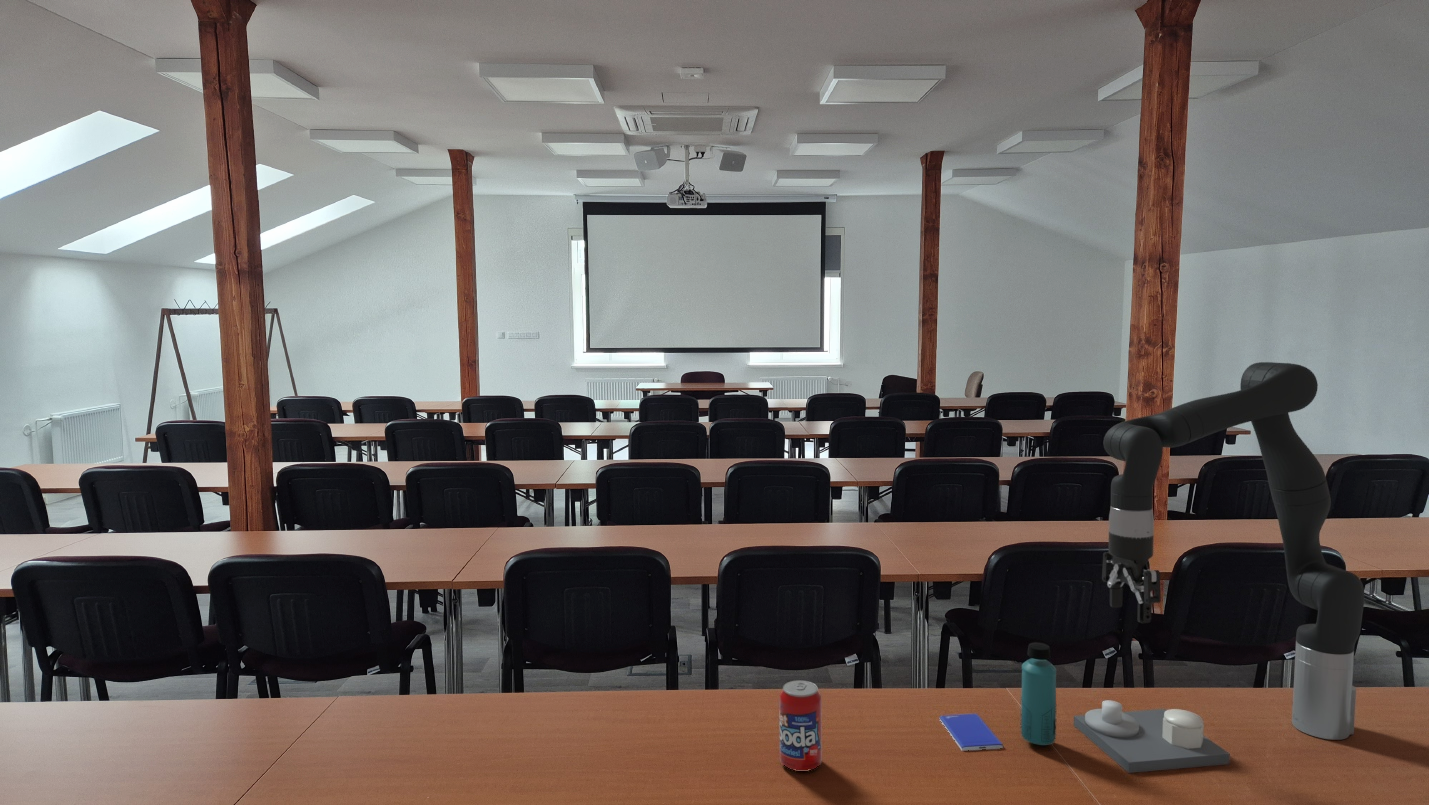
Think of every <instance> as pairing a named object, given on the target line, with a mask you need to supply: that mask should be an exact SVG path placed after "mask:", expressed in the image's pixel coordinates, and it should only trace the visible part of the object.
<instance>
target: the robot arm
mask: <svg viewBox="0 0 1429 805" xmlns="http://www.w3.org/2000/svg"><path fill="white" fill-rule="evenodd" d="M1240 378H1241V379H1240V388H1239V390H1237V391H1232V392H1228V393H1223V394H1219V395H1214V396H1213V395H1212V396H1207V397H1203V398H1198V399H1194V400H1191V401H1188V402H1184V403H1182V404H1178V405H1177V406H1174V407H1171V408H1169V409H1166V410H1165V411H1161V412H1159V413H1156V414H1150V415H1145V416H1141V417H1136V418H1132V419H1127V420H1125V421H1121V422H1119V423H1117V424H1114V425H1113V426H1112V427H1111V428H1109V429H1108V430H1107V432H1105V435H1104V437H1103V442H1102V443H1103V448H1104V451H1105V452H1106V453H1107V455H1108V456H1110V457H1112V458H1113V459H1115V460H1118V461H1123V462H1125V464H1124V465H1125V466H1124V469H1123V473H1122V474H1118V475H1116V476H1115V475H1114V477H1113V478H1112V480H1111V483H1110V507H1109V508H1110V510H1109V514H1108V551H1107V552H1106V551H1104V552H1103V553H1102V567H1101V568H1102V569H1101V580H1102V582H1104V583H1105V582H1106V583H1107V584H1106V585H1107V588H1109V606H1110V607H1111V608H1114V609H1116V608H1117V609H1118V608H1122V607H1123V599H1124V598H1123V594H1124V592H1123V591H1124V590H1123V588H1122V587H1123V586H1124V584H1126V585H1127V586H1129V588H1130V590H1131V592H1132V593H1133V594H1135V597H1136V600H1137V617H1136V618H1137V622H1138V623H1140V624H1149V623H1151V621H1152V606H1153V604H1159V603H1161V601H1162V600H1161V599H1162V598H1161V596H1162V594H1161V572H1160V570H1158V569H1155V570H1153V569H1152V570H1151V569H1149V565H1148V561H1149V560H1150V559H1151V558H1153V556H1154V540H1155V539H1154V530H1155V529H1154V528H1155V524H1154V523H1155V520H1154V510H1153V507H1154V506H1153V504H1154V502H1153V500H1154V490H1153V489H1154V484H1155V482H1156V479H1157V476H1158V472H1159V468H1160V466H1161V462H1162V458H1163V455H1164V454H1163V452H1164V451H1163V449H1164V448H1177V447H1178V448H1179V447H1181V446H1185V445H1187V444H1189V443H1192V442H1194V441H1197V440H1200V439H1202V438H1205V437H1207V436H1210V435H1212V434H1215V433H1218V432H1220V431H1221V432H1222V431H1224V430H1226V429H1230V428H1233V427H1235V426H1238V425H1239V426H1240V425H1243V424H1245V423H1249V422H1251V425H1252V427H1253V431H1254V433H1255V437H1256V439H1257V442H1258V446H1259V450H1260V453H1261V457H1262V462H1263V464H1264V468H1265V472H1266V476H1267V483H1268V486H1269V490H1270V491H1269V492H1270V494H1271V498H1272V502H1273V506H1274V508H1275V512H1276V517H1277V521H1278V526H1279V531H1280V535H1281V539H1282V544H1283V551H1284V560H1285V569H1286V577H1287V583H1288V584H1287V585H1288V588H1289V591H1290V593H1291V595H1292V596H1293V598H1294V599H1295V601H1298V603H1300V604H1301V605H1303V606H1306V607H1309V608H1311V609H1313V610H1316V611H1317V617H1316V623H1306V624H1302V625H1299V626H1298V627H1297V629H1296V635H1295V636H1296V637H1295V655H1294V670H1293V672H1294V675H1293V677H1294V678H1293V693H1292V694H1293V696H1292V712H1291V714H1292V715H1291V724H1292V726H1293V727H1294V728H1295V729H1297V730H1299V731H1300V732H1303V733H1304V734H1307V735H1309V736H1313V737H1316V738H1319V739H1325V740H1332V741H1335V740H1337V741H1340V740H1345V739H1347V738H1349V737H1350V735H1355V717H1356V716H1355V715H1356V702H1357V701H1356V700H1357V687H1356V686H1354V685H1353V677H1354V657H1355V655H1354V654H1355V644H1356V642H1357V640H1358V638H1359V636H1360V634H1361V630H1362V629H1361V628H1362V621H1363V613H1364V607H1365V606H1364V605H1365V588H1364V585H1363V582H1362V580H1361V579H1360V578H1359V576H1358V575H1356V574H1355V573H1353V572H1351V571H1348V570H1345V569H1343V568H1340V567H1336V566H1334V565H1331V564H1328V563H1327V562H1326V559H1325V558H1324V555H1323V551H1322V546H1321V542H1320V533H1321V531H1322V528H1323V526H1324V523H1325V521H1326V520H1327V517H1328V515H1329V512H1330V510H1331V505H1332V504H1331V503H1332V501H1331V494H1330V489H1329V485H1328V480H1327V477H1326V474H1325V473H1326V472H1325V471H1324V468H1323V466H1322V465H1321V463H1320V461H1319V460H1318V458H1317V457H1316V456H1315V454H1314V453H1313V452H1312V451H1311V450H1310V448H1309V447H1308V446H1307V444H1306V443H1305V442H1304V441H1303V440H1302V438H1301V437H1300V436H1299V434H1298V433H1297V431H1296V430H1295V428H1294V426H1293V423H1292V421H1291V418H1290V415H1289V413H1292V412H1293V413H1294V412H1298V411H1300V410H1303V409H1305V408H1307V407H1308V406H1309V405H1311V403H1312V402H1313V401H1314V400H1315V398H1316V396H1317V393H1318V387H1319V384H1318V380H1317V377H1316V375H1315V374H1314V372H1313V371H1312V370H1311V369H1310V368H1308V367H1306V366H1304V365H1301V364H1296V363H1289V362H1272V361H1264V362H1260V361H1259V362H1255V363H1252V364H1250V365H1249V366H1247V367H1246V369H1245V370H1244V372H1242V376H1241V377H1240ZM1109 571H1110V574H1109ZM1142 584H1143V585H1142ZM1142 592H1143V593H1142ZM1152 592H1153V593H1152Z"/></svg>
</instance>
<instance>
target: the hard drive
mask: <svg viewBox="0 0 1429 805" xmlns="http://www.w3.org/2000/svg"><path fill="white" fill-rule="evenodd" d="M939 719H940V720H939ZM939 719H938V720H939V722H940V721H941V722H942V723H941V722H940V723H941V724H942V726H943V725H944V726H945V727H944V726H943V727H944V728H946V729H947V730H948V731H947V730H946V729H945V730H946V731H947V732H949V733H950V734H949V733H948V734H949V735H950V737H951V736H952V737H951V738H952V740H953V741H954V740H955V741H954V742H955V743H956V745H957V746H958V747H959V749H960V751H962V752H965V751H967V752H969V751H981V750H982V749H986V750H999V749H1000V748H1004V745H1003V743H1002V742H1001V740H1000V739H999V738H998V737H997V736H996V735H995V733H993V731H992V730H991V728H989V726H988V725H987V724H986V723H985V721H984V720H983V719H982V718H981V717H980V715H979V714H977V713H962V714H948V715H945V714H944V715H940V716H939ZM968 750H969V751H968Z"/></svg>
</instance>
